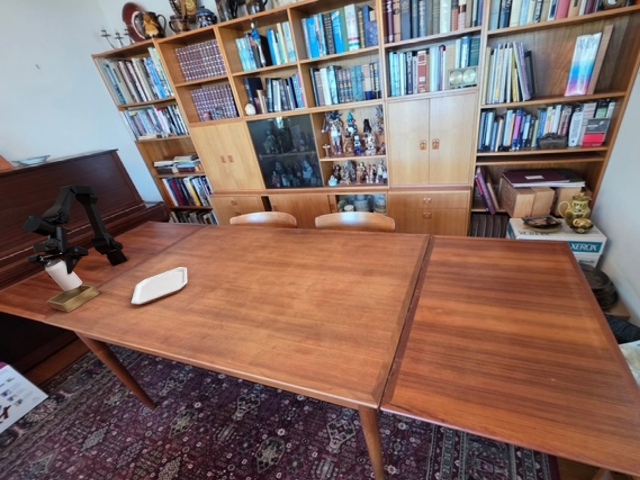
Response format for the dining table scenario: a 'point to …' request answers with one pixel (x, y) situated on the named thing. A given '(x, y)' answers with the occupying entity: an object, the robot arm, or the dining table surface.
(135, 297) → the plate
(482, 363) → the dining table surface
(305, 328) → the dining table surface
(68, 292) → the wooden frame
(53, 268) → the can
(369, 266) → the dining table surface
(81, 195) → the robot arm
